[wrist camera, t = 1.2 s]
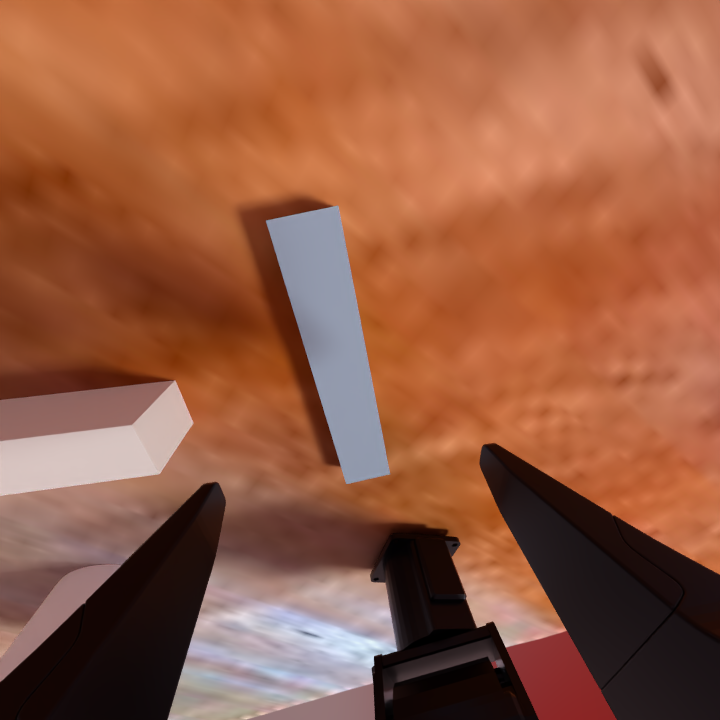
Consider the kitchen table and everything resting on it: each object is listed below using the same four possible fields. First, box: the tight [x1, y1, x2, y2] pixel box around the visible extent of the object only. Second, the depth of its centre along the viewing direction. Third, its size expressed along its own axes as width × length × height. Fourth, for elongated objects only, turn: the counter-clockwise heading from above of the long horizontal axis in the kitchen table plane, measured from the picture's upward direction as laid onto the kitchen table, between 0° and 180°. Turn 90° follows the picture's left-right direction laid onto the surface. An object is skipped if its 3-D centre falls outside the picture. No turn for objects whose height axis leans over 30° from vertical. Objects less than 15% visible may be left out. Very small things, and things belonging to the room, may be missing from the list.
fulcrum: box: [0, 380, 193, 496], centre depth 14 cm, size 11×12×5 cm
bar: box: [266, 206, 390, 484], centre depth 16 cm, size 16×3×3 cm, turn 11°
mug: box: [0, 564, 121, 682], centre depth 20 cm, size 9×12×11 cm
